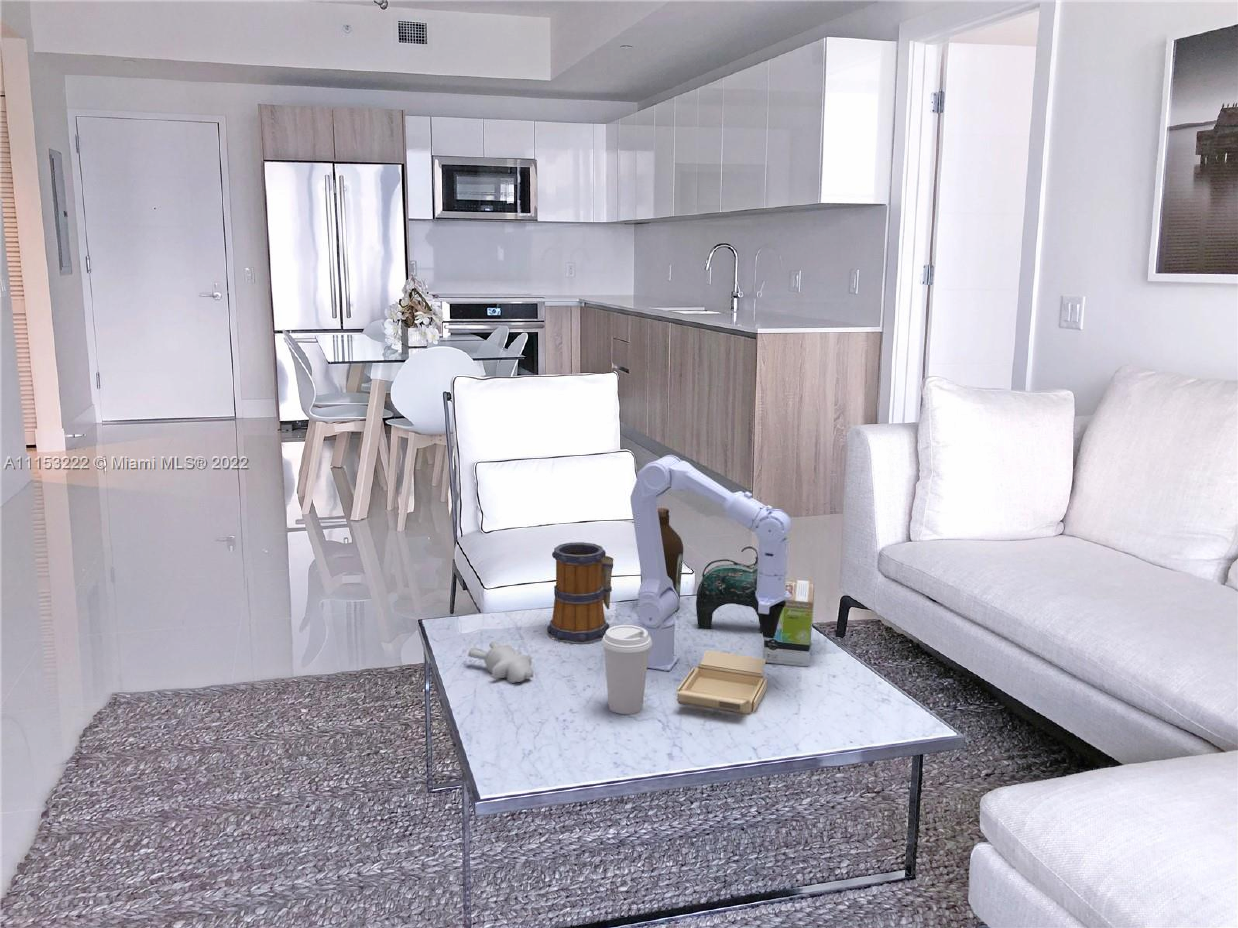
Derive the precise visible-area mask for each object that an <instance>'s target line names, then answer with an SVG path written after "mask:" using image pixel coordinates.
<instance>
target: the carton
mask: <svg viewBox="0 0 1238 928" xmlns="http://www.w3.org/2000/svg"><path fill="white" fill-rule="evenodd" d="M767 686H768V679H767V678H766V677H765V675H764V674H763V673H762V674H755V673H749V672H742V671H735V670H729V669H722V668H716V667H709V666H702V665H701V664H697V667H692V668H691V670H690V671H689V672H688V674H687V675H686V677H685V678H684V680H682V682H681V684H680V685H679V687H678V688H677V690H676V692H679V691H682V690H684V691H690V692H696V693H703V694H709V695H715V696H721V697H728V698H734V699H740V700H746V701H747V702H746V703H744V704H743V705H740V704H734V703H728V702H722V701H716V700H709V699H703V698H697V697H691V696H685V695H679V694H676V699H677V700H678V704H683V705H684V704H685V705H689V706H695V707H702V708H707V709H712V710H713V709H714V710H719V709H720V711H725V710H728V711H727V712H731V711H733V713H737V712H738V714H743V715H745V714H746V715H751V714H752V713H753V712H756V711H757V709H758V706H759V705H760V702H761V700H762V698H763V697H764V694H765V692H766V690H767V688H768V687H767Z"/></svg>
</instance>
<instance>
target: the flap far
mask: <svg viewBox="0 0 1238 928" xmlns="http://www.w3.org/2000/svg"><path fill="white" fill-rule="evenodd" d="M766 663H767V662H766V659H763V657H762V658H761V657H755V656H749V655H743V654H735V653H727V652H720V651H713V650H707V649H706V650H705V652H704V655H703V657H702V660H701V663H700V665H702V666H709V667H716V668H722V669H729V670H735V671H742V672H749V673H755V674H762V675H763V671H764V668H765V665H766Z"/></svg>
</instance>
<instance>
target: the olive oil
mask: <svg viewBox="0 0 1238 928" xmlns="http://www.w3.org/2000/svg"><path fill="white" fill-rule="evenodd" d="M657 508H658V507H657ZM669 513H670V509H669V508H666V507H660V508H658V515H659V522H660V529H661V536H662V543H663V550H664V557H665V564H666V571H667V576H668V577H669V578H670V579H671V580H672V582H673V587H674V590H675V591H676V593H677V594H678V596H679V601H680V599H681V584H682V572H683V561H684V544H683V541H682V539H681V536H680V535H679V534H678V533H677V532H676V531H675V530H674V528H673V527H672V526H671V525H670V514H669ZM641 582H642V576H641V575H640V583H641ZM679 604H680V602H679ZM679 609H680V606H679V607H678V609H677V610H676V611H675V612H674V613H676V612H678V611H679Z"/></svg>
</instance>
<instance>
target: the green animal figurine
mask: <svg viewBox="0 0 1238 928" xmlns="http://www.w3.org/2000/svg"><path fill="white" fill-rule="evenodd" d="M747 549H751V550H753V551H755V553H756V556H755V562H754V563H752V564H748V565H747V564H744V563H739V562H737V561H735V560H733V559H732V560H731V559H727V558H726V559H725V558H724V559H723V558H722V559H716V560H713V561H710V562H708V563H707V565H706V566H705V567H704V569H703V571H702V574H701V577H702V579H701V581H700V583H699V584H698V587H697V590H696V601H695V609H696V621H697V628H698V630H700V629H701V630H712V625H713V623H712V622H713V614H714V613H715V611H716V610H717V609H719V608H721V607H722V606H724V605H731V604H732V605H733V604H734V605H739V606H743V607H747V608H748V607H750V608H752V609H753V610H754V611H755V614H756V615H757V617H758V623H759V634H762V628H761V623H760V619H759V616H758V613H757V611H756V610H755V603H756V602H757V598H756V596H755V592H756V591H757V571H758V551H757V549H756V548H755V547H754V546H751V545H750V546H746V547H743V548H742V550H741V553H743V552H744V551H745V550H747ZM718 562H719V563H720V562H731V563H729V564H719V565H716V566H714V567H712V568H710V569H709V570H708V571H707V572H706V570H707V569H708V568H709V567H710V566H711V565H712V564H714V563H718ZM705 572H706V573H705Z"/></svg>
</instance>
